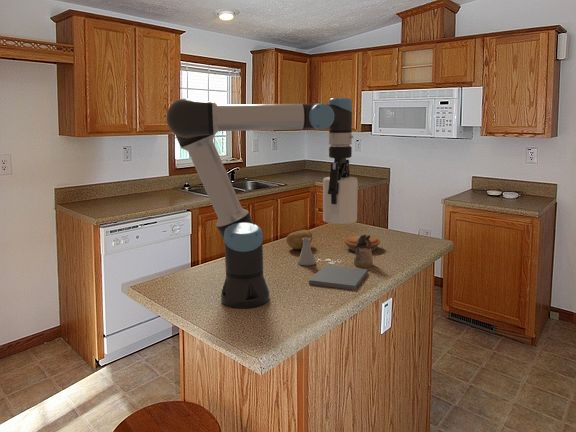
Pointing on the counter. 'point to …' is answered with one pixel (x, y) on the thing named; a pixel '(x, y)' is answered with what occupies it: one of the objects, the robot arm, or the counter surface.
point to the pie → (353, 239)
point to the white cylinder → (341, 201)
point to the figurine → (363, 252)
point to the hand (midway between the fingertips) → (339, 210)
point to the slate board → (339, 277)
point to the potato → (298, 238)
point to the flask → (306, 254)
